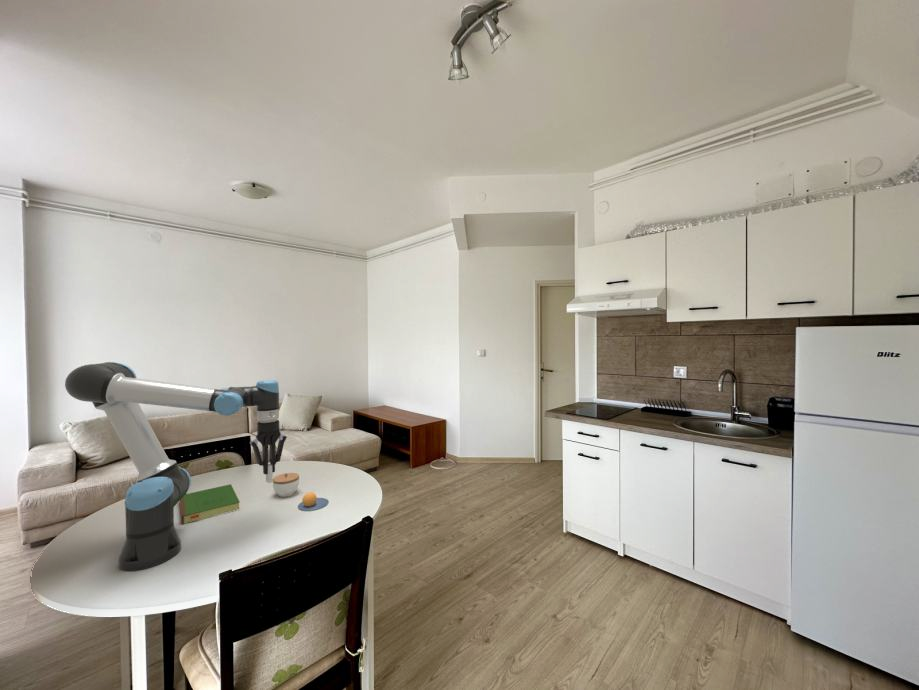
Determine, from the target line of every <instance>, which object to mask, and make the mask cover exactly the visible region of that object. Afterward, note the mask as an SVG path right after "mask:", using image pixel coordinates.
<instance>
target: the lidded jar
mask: <svg viewBox="0 0 919 690" xmlns="http://www.w3.org/2000/svg"><path fill="white" fill-rule="evenodd" d="M299 484H300V474H298V473H296V472H285V473H282V474H278V475H276V476H274V477H273V482H272V487H273V491H274V493H275V494H276V495H277V496H278V497H279V496H280V498H287V496H288V497H291V496H293V495H294V494H295V492H296V491H297V490H298V488H299Z"/></svg>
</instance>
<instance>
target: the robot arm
mask: <svg viewBox="0 0 919 690" xmlns="http://www.w3.org/2000/svg"><path fill="white" fill-rule="evenodd" d="M64 381H65V382H64V388H65V390H66V392H67V393H68V395H70V396H71V398H74V399H76V400H79V401H81V402H88V403H89V402H90V403H92V404H93V406H94V408H95V410H100V411H103V412H104V414H106V417H107V418H108V420H109V422H110V423H111V426H112V427H113V429H114V431H115V433H116V434H117V437H118V438H119V440H120V442H121V443H122V446H124V449H125V450H126V452H127V454H128V456H129V458H130V460H131V461H132V463H133V464H134V466H135V469H136V470H137V472H138V475H137V478H136V483H134V484H133V485H131V486H129V488H128V489H126V493H125V498H124V506H125V507H124V509H125V512H124V513H125V541H124V544H123V546H122V549H121V551H120V554H119V558H118V568H119V569H120V570H123V571H127V572H128V571H129V572H130V571H131V572H132V571H139V570H140V571H141V570H144V569H148V568H152V567H155V566H158V565H160V564H163V563H164V562H167V561H168V560H170V559H171V558H174V557H175V556H176V555H177V554H178V553H180V551H181V548H182V541H181V538H180V535H179V534H178V532H177V530H176V528H175V521H174V520H175V518H174V515H175V513H174V510H175V506H176V505H177V504H178V503H180V500H181V499H182V498H183V497H184V496H185V495H186V494H188V492H189V489H190V487H191V483H192V481H191V480H192V479H191V475H190V473H189V472H188V471H187V470H186V469H185V468H184V467H180V466H179V464H178V463H177V462H178V461H176V460H175V459H170V458H169V457H168V455H167V454H166V452H165V450H164V448H163V446H162V444H161V442H160V440H159V439H158V437H157V435H156V433H155V430H153V428H152V425H151V424H150V422H149V420H148V418H147V416H146V414H145V413H144V410H143V409H142V407H141V405H140V404H142V405H143V404H144V405H152V406H159V407H160V406H161V407H170V408H178V409H188V410H196V411H205V412H212V413H218V414H219V415H222V416H231V415H235V414H236V413H238V412H239V411H240V410H241V409H242V408H245V407H256V410H257V411H256V417H257V418H256V420H257V421H258V422H257V423H256V424H257V425H256V426H257V428H256V429H257V433H256V436H255V439H253V440H250V441H249V444H250V445H251V447H252V449H253V453H254V455H255V459H256V460H255V461H256V462H257V465H259V466H260V467H261V466H262V470H263V471H262V473H263V475H265V482H267V483H268V484H271V483H273V478H274V477H273V473H275V472H276V466H275V465H276V464H277V463H278V462H280V461H281V459H282V458H281V457H282V453H283V450H284V445H285V442H286V440H287V438H288V437H287V436H286V435H284V434H282V433H281V431H280V420H279V419H280V390H279V389H280V388H279V382H278V380H275V379H266V380H263V379H262V380H258V381H257V382H256V384H255V385H253V386H229V387H222V388H221V389H216V388H211V387H203V386H195V385H190V384H189V385H188V384H181V383H180V384H179V383H173V382H164V381H159V380H149V379H142V378H137V375H136V373H135V371H134V369H133V368H131V367H130V366H128V365H127V364H124V363H121V362H114V361H107V362H102V363H91V364H84V365H81V366H79V367H76V368H74V369H73V370H72V371H71V372H70V373H69V374H68V375H67V377H66V378H65V380H64ZM276 442H278V443H277V447H276ZM259 443H260V444H261V449H262V456H261V451H260V449H259V446H258V445H259Z"/></svg>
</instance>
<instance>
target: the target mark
mask: <svg viewBox="0 0 919 690" xmlns="http://www.w3.org/2000/svg"><path fill="white" fill-rule="evenodd" d="M329 503H330V502H329V499H327V498H326V497H325V498H324V497H317V500H316V502H315V504H314V505H312V506H310V507H307V506H305V505H304V504H303V502H302V501H301V502H300V503H298V505H297V509H298V510H300V511H303V512H312V511H317V510H321V509H323V508H325V507H326V506H328V504H329Z"/></svg>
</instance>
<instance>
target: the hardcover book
mask: <svg viewBox="0 0 919 690" xmlns="http://www.w3.org/2000/svg"><path fill="white" fill-rule="evenodd" d="M240 503H241V502H240V500H239V498H238V496H237V494H236V492H235V489H234V487H233V486H232V484H226V485H225V484H224V485H221V486H217V487H211V488H207V489H203V490H200V491H199V490H198V491H193V492H190V493H189V492H187V493H186V495H185V496H184V497H183V498H182V499H181V500H180V501H179V508H180V517H181V518H180V519H181V525H185V524H189V523H193V522H196V521H195V520H197V521H199V520H198V519H201V520H203V519H202V518H205V519H207V518H206V517H208V518H211V517H210V516H212V517H215V516H214V515H216V516H219V515H218V514H220V515H222V514H221V513H224V514H226V513H225V512H228V513H230V512H229V511H232V512H234V511H233V510H235V511H238V510H237V509H239V510H240ZM192 521H193V522H192ZM188 522H189V523H188Z"/></svg>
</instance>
